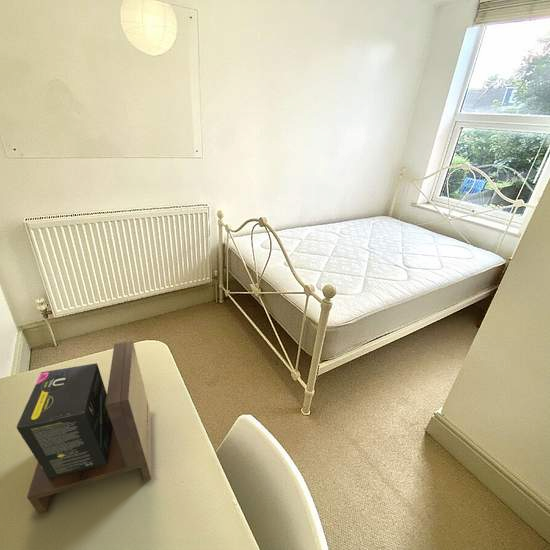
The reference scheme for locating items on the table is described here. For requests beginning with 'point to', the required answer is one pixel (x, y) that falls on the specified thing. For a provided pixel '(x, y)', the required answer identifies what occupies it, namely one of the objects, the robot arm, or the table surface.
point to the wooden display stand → (124, 437)
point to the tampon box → (67, 420)
